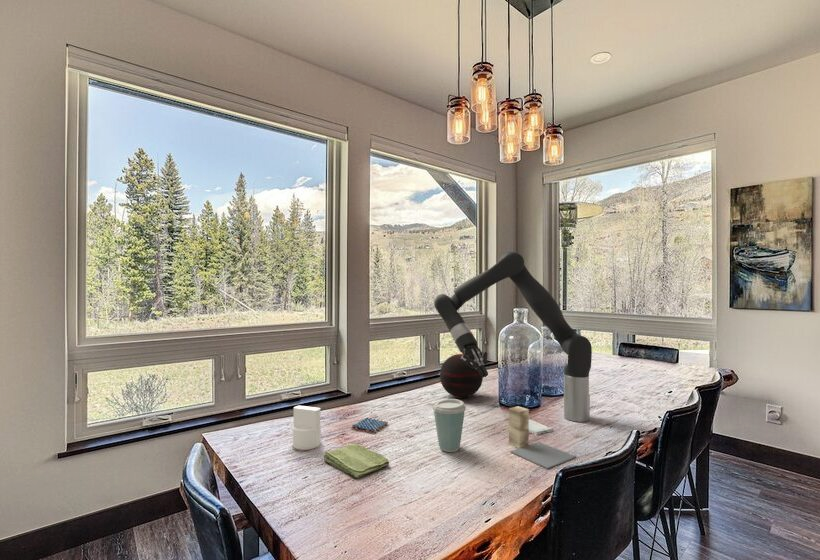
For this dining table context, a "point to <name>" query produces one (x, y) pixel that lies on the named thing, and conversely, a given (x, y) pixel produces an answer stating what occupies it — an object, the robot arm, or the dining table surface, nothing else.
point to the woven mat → (370, 425)
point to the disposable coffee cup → (449, 423)
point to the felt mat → (543, 455)
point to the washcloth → (356, 460)
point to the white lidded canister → (306, 427)
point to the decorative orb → (459, 377)
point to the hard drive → (538, 428)
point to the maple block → (518, 426)
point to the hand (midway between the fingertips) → (485, 376)
